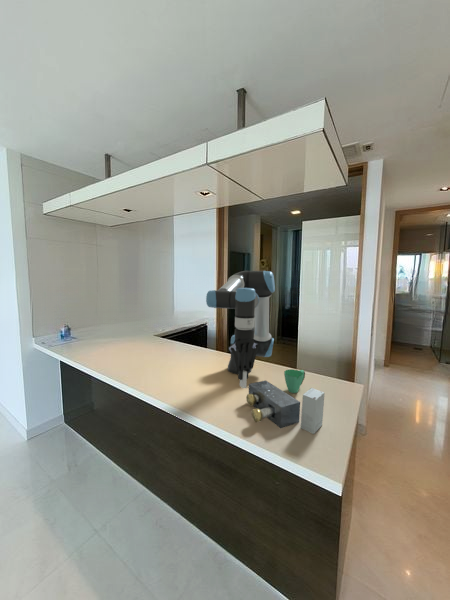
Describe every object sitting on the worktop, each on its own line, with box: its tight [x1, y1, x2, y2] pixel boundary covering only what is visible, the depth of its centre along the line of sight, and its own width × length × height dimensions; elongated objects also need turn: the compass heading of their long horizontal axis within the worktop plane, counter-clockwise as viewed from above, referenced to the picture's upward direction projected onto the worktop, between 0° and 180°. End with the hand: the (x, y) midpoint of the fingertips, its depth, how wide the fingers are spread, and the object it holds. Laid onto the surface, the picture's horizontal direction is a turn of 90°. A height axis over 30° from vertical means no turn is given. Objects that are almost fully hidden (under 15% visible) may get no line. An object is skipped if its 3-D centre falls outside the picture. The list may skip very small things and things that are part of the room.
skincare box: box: [300, 387, 325, 435], centre depth 105 cm, size 8×6×15 cm
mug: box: [283, 368, 306, 394], centre depth 140 cm, size 15×10×10 cm
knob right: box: [251, 406, 275, 423], centre depth 109 cm, size 5×12×5 cm, turn 118°
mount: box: [248, 380, 301, 429], centre depth 118 cm, size 24×10×9 cm, turn 28°
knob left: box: [246, 393, 259, 407], centre depth 122 cm, size 5×12×5 cm, turn 118°
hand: (242, 386), depth 103 cm, fingers closed
